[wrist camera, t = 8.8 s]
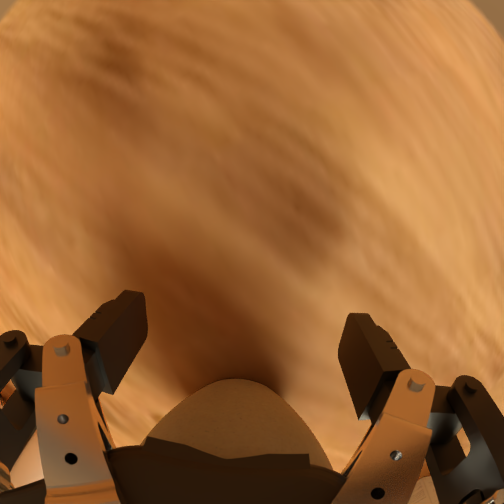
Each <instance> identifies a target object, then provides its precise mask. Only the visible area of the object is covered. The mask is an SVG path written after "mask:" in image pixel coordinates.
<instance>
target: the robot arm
mask: <svg viewBox="0 0 504 504" xmlns="http://www.w3.org/2000/svg"><path fill="white" fill-rule="evenodd" d="M147 332H148V324H147V315H146V305H145V296H144V294H143V293H142V292H136V291H130V290H124V291H123V292H122V293H121V294H120V295H119V296H118V297H117V298H116V299H115V300H111V301H109V302H107V303H104V304H102V305H101V306H100V307H99V308H98V309H97V310H96V311H95V313H93V314H92V315H91V316H90V318H88V319H87V320H86V321H85V322H84V323H83V324H82V325H81V326H80V327H79V328H78V329H77V330H76V331H75V332H74V333H73V335H66V334H64V335H57V336H54V337H52V338H50V339H49V340H48V341H47V342H46V343H45V344H44V346H38V345H29V342H28V340H27V337H26V335H25V333H23V332H22V331H19V330H12V331H8V332H5V333H3V334H2V335H1V336H0V392H1V391H2V389H3V388H4V387H5V386H6V384H7V383H8V382H9V381H10V379H11V380H12V382H13V384H14V386H15V388H16V390H15V391H14V393H13V394H12V395H11V397H10V398H9V399H8V401H7V402H6V404H5V405H4V406H3V408H2V409H1V408H0V504H408V502H409V500H410V498H411V495H412V493H413V490H414V488H415V485H416V483H417V480H418V477H419V474H420V472H421V469H422V466H423V463H424V460H425V459H426V462H427V465H428V468H429V471H430V474H431V478H432V481H433V484H434V487H435V491H436V494H437V498H438V501H439V504H504V417H503V415H502V413H501V412H500V410H499V409H498V407H497V405H496V404H495V402H494V401H493V399H492V398H491V396H490V395H489V393H488V392H487V390H486V389H485V388H484V386H483V385H482V383H481V382H480V381H478V380H477V379H475V378H474V377H471V376H467V375H462V376H459V377H457V378H456V380H455V381H454V383H453V385H452V386H451V387H446V386H436V385H435V383H434V381H433V379H432V378H431V377H430V376H429V375H428V374H426V373H425V372H423V371H420V370H417V369H411V368H410V366H409V364H408V363H407V361H406V360H405V358H404V357H403V355H402V353H401V352H400V350H399V349H397V346H396V344H395V343H394V342H393V340H392V338H391V336H390V335H389V333H388V332H386V331H385V330H384V329H383V328H381V327H380V326H376V324H375V323H374V321H373V320H372V318H371V317H370V315H369V314H367V313H350V314H349V315H348V317H347V319H346V323H345V327H344V330H343V333H342V337H341V340H340V343H339V348H338V359H339V363H340V365H341V368H342V371H343V374H344V377H345V380H346V383H347V386H348V389H349V392H350V395H351V398H352V401H353V404H354V407H355V411H356V414H357V417H358V420H367V419H370V420H371V423H372V424H371V425H370V427H369V428H368V430H367V432H366V434H365V436H364V438H363V439H362V441H361V443H360V444H359V446H358V448H357V450H356V451H355V453H354V455H353V456H352V458H351V459H350V461H349V463H348V464H347V466H346V467H345V468H344V470H343V471H342V473H341V474H340V473H338V472H336V471H333V470H331V469H328V468H326V467H322V466H319V465H315V464H310V459H309V453H308V454H264V455H257V456H250V457H242V458H233V459H224V458H221V457H218V456H215V455H212V454H209V453H206V452H203V451H201V450H198V449H196V448H193V447H190V446H188V445H186V444H181V443H176V442H171V441H166V440H162V439H158V438H154V437H150V436H147V438H146V441H145V443H144V446H143V445H135V446H124V447H119V448H116V446H115V444H114V442H113V439H112V437H111V434H110V431H109V428H108V425H107V422H106V419H105V415H104V412H103V409H102V405H101V402H100V399H99V395H100V393H101V392H105V393H108V394H112V395H113V394H114V392H115V391H116V389H117V387H118V386H119V384H120V382H121V380H122V379H123V377H124V375H125V374H126V372H127V370H128V368H129V367H130V365H131V363H132V362H133V360H134V358H135V357H136V355H137V353H138V352H139V350H140V348H141V347H142V345H143V344H144V342H145V340H146V337H147ZM35 426H37V437H38V445H39V452H40V459H41V464H42V470H43V475H44V478H43V479H41V480H38V481H35V482H32V483H29V484H26V485H23V486H20V487H17V488H14V485H13V484H12V483H11V477H10V472H11V470H12V468H13V466H14V464H15V462H16V460H17V458H18V456H19V454H20V453H21V451H22V449H23V447H24V445H25V443H26V442H27V440H28V438H29V436H30V435H31V433H32V431H33V430H34V428H35ZM462 427H463V429H464V431H465V433H466V435H467V437H468V439H469V441H470V445H471V448H470V452H469V454H468V456H467V457H466V456H465V454H464V452H463V449H462V447H461V445H460V443H459V440H458V438H457V436H456V434H457V433H458V432H459V430H460V429H461V428H462Z"/></svg>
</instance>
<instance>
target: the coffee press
mask: <svg viewBox="0 0 504 504" xmlns="http://www.w3.org/2000/svg"><path fill="white" fill-rule="evenodd" d="M0 402H1V405H0V408H1V409H2V408H3V405H2V401H1V395H0ZM10 477H11V483H12V484H13V485H14V488H17V487H20V486H23V485H26V484H29V483H32V482H35V481H38V480H41V479H43V478H44V475H43V470H42V464H41V459H40V452H39V445H38V437H37V426H35V428H34V430H33V431H32V433H31V435H30V436H29V438H28V440H27V442H26V443H25V445H24V447H23V449H22V451H21V453H20V454H19V456H18V458H17V460H16V462H15V464H14V466H13V468H12V470H11V472H10Z"/></svg>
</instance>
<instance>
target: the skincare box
mask: <svg viewBox="0 0 504 504" xmlns="http://www.w3.org/2000/svg"><path fill="white" fill-rule="evenodd" d="M408 504H439V501H438V498H437V494H436V491H435V487H434V484H433V481H432V478H431V476H428V477H422V478H421V479H419V480H418V481H417V483H416V485H415V488H414V490H413V493H412V495H411V498H410V500H409V502H408Z"/></svg>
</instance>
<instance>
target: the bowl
mask: <svg viewBox="0 0 504 504" xmlns="http://www.w3.org/2000/svg"><path fill="white" fill-rule="evenodd" d="M147 436H150V437H154V438H158V439H162V440H166V441H171V442H176V443H181V444H186V445H188V446H190V447H193V448H196V449H198V450H201V451H203V452H206V453H209V454H212V455H215V456H218V457H221V458H224V459H233V458H242V457H250V456H257V455H264V454H308V453H309V459H310V464H315V465H319V466H322V467H326V468H328V469H331V470H333V468H332V466H331V464H330V462H329V460H328V458H327V456H326V454H325V452H324V450H323V449H322V447H321V445H320V444H319V442H318V440H317V439H316V437H315V436H314V434H313V433H312V431H311V430H310V429H309V427H308V426H307V425H306V423H305V422H304V421H303V420H302V418H301V417H300V416H299V415H298V414H297V413H296V412H295V411H294V409H293V408H292V407H291V406H290V405H289V404H288V403H287V402H285V401H284V400H283V399H282V398H281V397H280V396H279V395H277V394H276V393H275V392H274V391H272V390H271V389H269V388H268V387H266V386H264V385H262V384H260V383H257V382H254V381H251V380H245V379H225V380H220V381H216V382H213V383H211V384H209V385H207V386H205V387H204V388H202V389H200V390H198V391H197V392H195V393H194V394H192V395H190V396H189V397H187V398H186V399H185V400H183V401H182V402H181V403H179V404H178V405H177V406H176V407H174V408H173V409H172V410H171V411H170V412H169V413H168V414H167V415H166V416H165V417H163V418H162V419H161V420H160V422H159V423H158V424H157V425H156V426H155V427H154V428H153V429H152V430H151V431H150V433H149V434H148V435H147ZM147 436H146V438H147ZM146 438H145V439H144V440H143V442H142V443H141V444H140V445H143V446H144V443H145V441H146Z"/></svg>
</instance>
